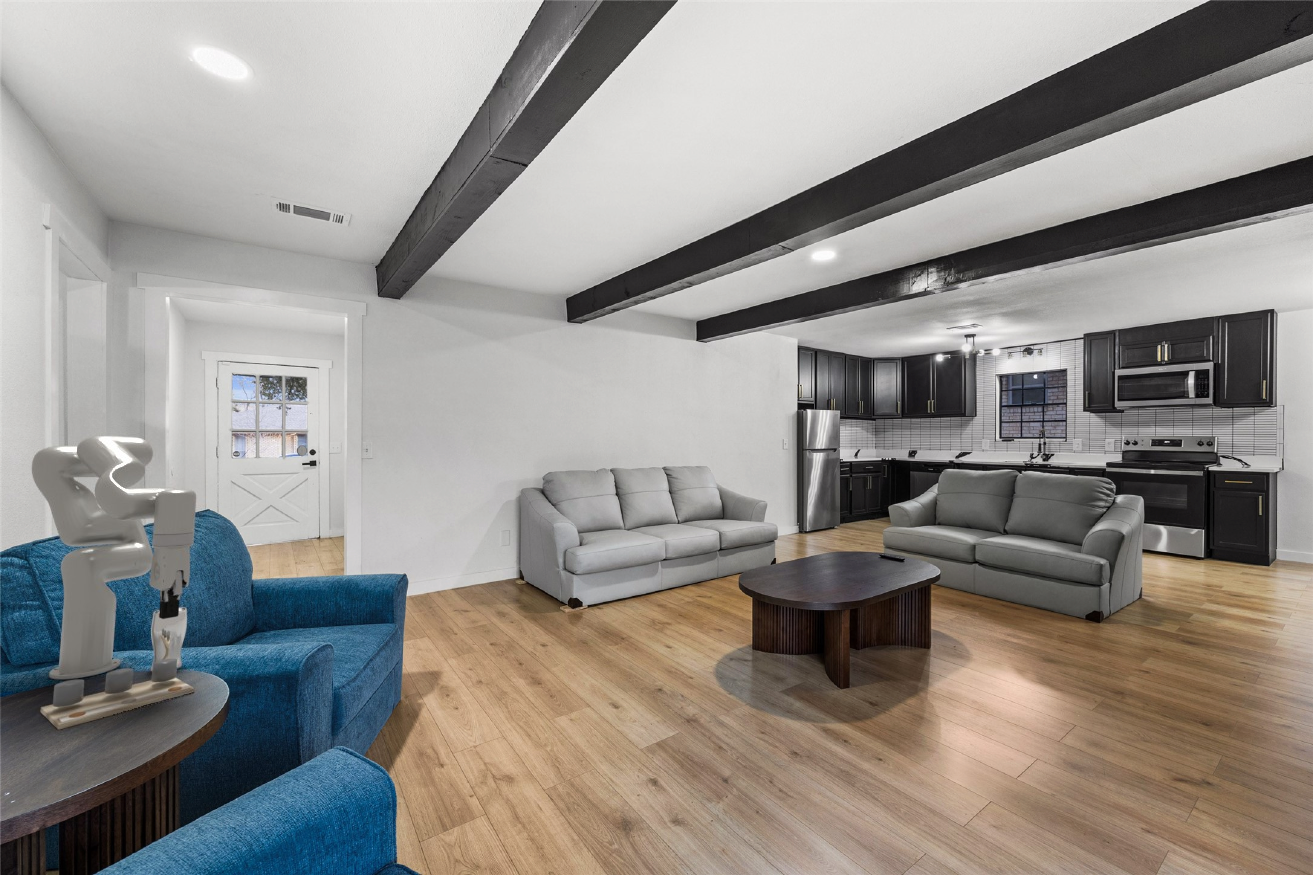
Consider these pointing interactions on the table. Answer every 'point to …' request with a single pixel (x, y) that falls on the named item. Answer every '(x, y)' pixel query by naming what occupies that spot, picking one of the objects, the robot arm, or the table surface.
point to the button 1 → (68, 693)
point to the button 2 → (164, 670)
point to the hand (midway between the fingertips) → (168, 617)
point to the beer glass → (168, 636)
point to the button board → (113, 702)
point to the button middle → (119, 681)
